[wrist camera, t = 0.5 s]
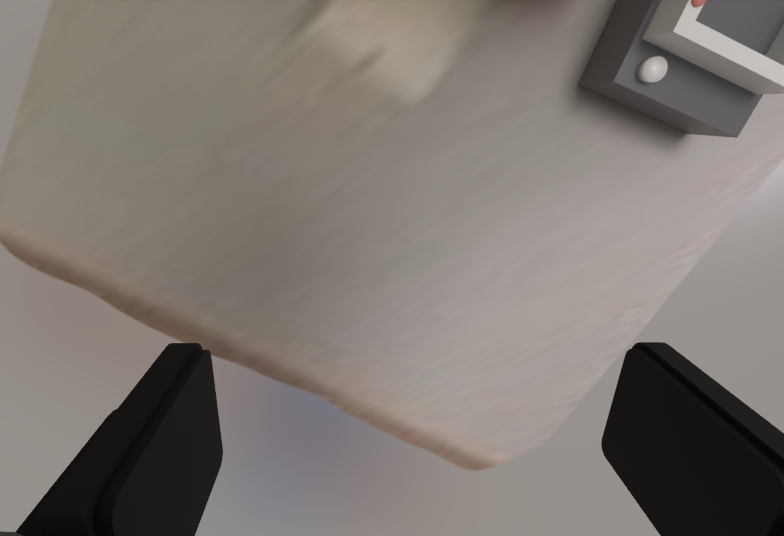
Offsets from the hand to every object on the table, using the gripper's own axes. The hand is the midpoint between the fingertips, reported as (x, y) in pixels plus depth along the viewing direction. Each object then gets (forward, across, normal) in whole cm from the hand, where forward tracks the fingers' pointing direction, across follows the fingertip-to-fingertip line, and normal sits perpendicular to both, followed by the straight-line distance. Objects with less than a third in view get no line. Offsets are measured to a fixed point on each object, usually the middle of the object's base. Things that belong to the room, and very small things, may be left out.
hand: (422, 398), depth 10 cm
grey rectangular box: (+28, -24, -14) cm, 40 cm away
